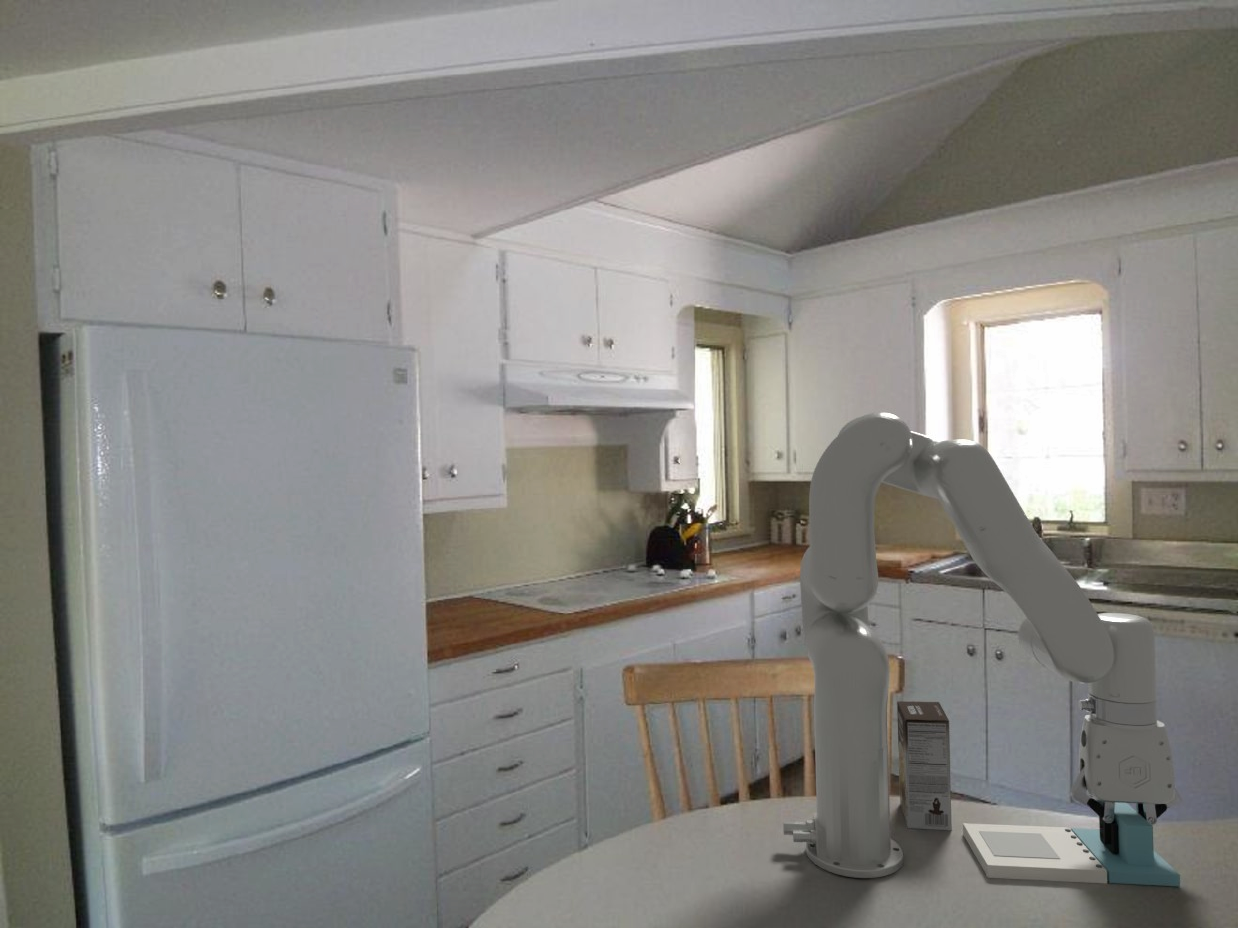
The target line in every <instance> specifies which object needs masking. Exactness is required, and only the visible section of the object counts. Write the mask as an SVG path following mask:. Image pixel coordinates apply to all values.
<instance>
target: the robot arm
mask: <svg viewBox="0 0 1238 928" xmlns="http://www.w3.org/2000/svg"><path fill="white" fill-rule="evenodd" d="M810 481H811V482H810V485H809V487H810V488H809V495H808V496H809V497H808V499H809V500H808V506H809V507H808V508H809V510H808V514H809V519H808V521H809V530H808V531H809V547H808V548H806V550H805V552H804V553H803V557H802V559H801V562H800V572H799V578H800V579H799V583H800V599H801V600H800V601H801V603H800V604H801V618H802V634H803V643H804V648H805V649H804V650H805V652H806V655H807V657H808V659H809V661H810V663H811V665H812V667H813V674H814V697H813V698H814V700H813V724H814V725H813V731H814V732H813V733H814V748H815V749H814V754H815V756H814V757H815V758H814V759H815V789H816V791H815V793H816V811H814V812H812V818H805V821H797V820H793V819H791V820H789V819H783V820H782V826H783V828H782V831H783V836H792V841H793V842H794V843H805V851H806V852H805V853H806V855H807V858H809V860H810V861H811V862H812V863H814V864H815V865H816V866H817V867H820V869H823V870H824V871H827V872H829V873H833V874H835V875H839V876H843V877H848V878H855V879H875V878H880V877H881V878H883V877H885V876H889V875H892V874H894V873H896V872H897V871H898V870H900V869H901V868H902V866H903V864H904V851H903V848H902V847H901V845H899V843H897V842H896V841H895V840H893V839H892V838H891V816H890V815H891V813H890V812H891V811H890V805H891V804H890V777H889V776H890V775H889V774H890V773H889V769H890V768H889V743H888V738H889V737H888V702H889V688H890V677H891V676H890V675H891V674H890V670H891V669H890V661H889V657H888V652H887V650H886V647H885V646H884V643H883V642H882V641H881V639H880V637H879V636H878V635H877V634H876V633H875V631H874V630H873V629H871V628H870V625H869V612H868V611H869V610H868V605H870V603H871V602H872V601H873V600H874V598H875V596H876V594H877V590H878V587H879V571H878V561H877V553H876V552H877V550H876V536H875V503H876V502H875V501H876V496H877V492H878V490H879V488H880V486H881V485H882V484H886V485H889V486H893V487H894V488H895V487H896V488H898V489H901V490H905V491H908V492H911V493H914V494H919V495H921V496H925V497H929V498H934V499H938V500H939V503H940V505H941V506H942V508H943V509H944V511H945V514H946V515H947V516H948V518H949V519H950V522H951V523H952V525H953V527H954V528H955V530H956V532H957V533H958V535H959V537H960V538H961V540H962V543H963V544H964V546H965V547H966V549H967V551H968V553H969V555H970V557H971V558H972V560H973V561H974V563H975V564H976V565H977V567H979V569H980V570H981V571H982V572H983V573H984V574H985V575H986V577H987V578H989V579H990V580H991V581H992V582H994V583H995V584H996V585H997V586H998V587H999V588H1001V590H1003V591H1004V592H1005V593H1006V594H1007V595H1008V596H1009V597H1010V598H1011V599H1012V601H1014V602H1015V604H1016V605H1017V606H1018V608H1019V609H1020V610H1021V611H1022V613H1023V614H1024V615H1025V617H1026V618H1025V619H1024V620H1023V621H1022V622H1021V624H1020V626H1019V629H1018V635H1017V637H1018V642H1019V644H1020V647H1021V649H1022V650H1023V652H1024V654H1026V655H1027V656H1028V657H1029V658H1030V659H1032V660H1033V661H1034V662H1036V663H1037V664H1039V665H1040V666H1043V667H1044V668H1046V669H1047V670H1050V671H1052V672H1053V673H1055V674H1056V675H1058V676H1060V677H1061V678H1063V679H1065V680H1067V681H1069V682H1073V683H1078V684H1088V692H1087V693H1086V694H1087V695H1086V698H1084V699H1079V700H1078V701H1077V707H1078V710H1079V711H1085V712H1087V713H1089V714H1087V715H1086V714H1085V716H1084V718H1083V722H1082V727H1081V732H1080V736H1079V737H1080V738H1079V747H1078V765H1077V767H1078V775H1077V777H1076V779H1075V781H1074V782H1073V785H1072V786H1071V788H1070V790H1069V796H1070V797H1072V799H1074V800H1075V801H1077V802H1079V803H1080V804H1083V806H1084V805H1085V806H1086V807H1089V808H1090V809H1091V810H1092V811H1093V812H1094V813H1095V814H1096V815H1097V816H1098V820H1099V821H1098V822H1099V830H1100V840H1101V842H1102V843H1103V844H1104V845H1105V846H1106V847H1107V848H1108V850H1109V851H1110V852H1111V853H1112V854H1118V853H1119V835H1118V825H1117V823H1116V822H1115V821H1114V810H1115V802H1117V803H1128V804H1135V810H1136V812H1138V813H1139V814H1140V815H1141V816H1142V817H1143V818H1144V819H1145V820H1146V821H1148V822H1149V823H1150V824H1151V825H1152V826H1153V827H1154V825H1156V824H1157V822H1158V819H1159V818H1160V817H1161V816H1162V814H1164V813H1165V812H1166V811H1167V810H1168V809H1171V808H1173V807H1175V806H1177V805H1180V804H1182V802H1183V798H1182V797H1181V795H1180V793H1179V792H1178V789H1177V788H1176V781H1175V780H1176V779H1175V778H1176V777H1175V771H1174V764H1173V763H1174V762H1173V754H1172V751H1171V746H1170V740H1169V736H1168V732H1167V728H1166V725H1165V723H1163V721H1160V720H1159V719H1158V709H1157V707H1158V705H1157V702H1158V701H1157V678H1156V677H1157V675H1156V673H1157V671H1156V639H1155V638H1156V637H1155V635H1156V634H1155V627H1154V625H1153V623H1152V622H1151V621H1150V620H1149V619H1148V618H1146V617H1144V616H1140V615H1136V614H1132V613H1131V614H1130V613H1123V612H1103V613H1101V612H1100V613H1097V611H1096V609H1095V607H1094V606H1093V604H1092V603H1091V601H1090V599H1089V598H1088V595H1086V593H1085V591H1084V590H1083V589H1082V587H1081V586H1080V584H1078V582H1077V580H1076V579H1074V577H1073V576H1072V575H1071V573H1070V572H1069V571H1068V570H1067V569H1066V567H1065V566H1064V565H1063V564H1062V563H1061V561H1060V560H1059V559H1058V558H1057V556H1056V555H1055V554H1054V552H1053V550H1051V549H1050V547H1048V545H1047V544H1046V543H1045V542H1044V540H1042V538H1041V537H1040V536H1039V534H1038V532H1036V530H1035V528H1034V527H1033V524H1032V523H1031V522H1030V520H1029V518H1028V516H1027V515H1026V513H1025V511H1024V509H1023V507H1022V506H1021V504H1020V503H1019V500H1018V499H1017V497H1016V496H1015V493H1014V492H1013V491H1012V489H1011V487H1010V485H1009V484H1008V482H1007V480H1006V478H1005V476H1004V474H1003V473H1002V472H1001V470H1000V468H999V466H998V465H997V463H996V461H995V459H994V458H993V457H992V455H991V454H990V453H989V451H988V450H987V449H986V448H985V447H984V446H982V445H981V444H980V443H979V442H976V441H973V440H969V439H959V438H957V439H947V440H946V439H940V438H937V437H932V436H929V435H925V434H922V433H919V432H916V431H911V429H910V427H909V426H908V424H907V423H906V422H905V421H904V420H903V419H902V418H900V417H899V416H898V415H895V414H892V413H889V412H880V411H879V412H871V413H868V414H865V415H862V416H859V417H856V418H854V419H852V420H850V421H848V422H847V423H846V424H845V425H844V426H842V428H841V429H840V430H839V432H838V433H837V435H836V436H835V438H833V440H832V441H831V442H830V443H829V445H828V446H827V447H826V448H825V450H824V451H823V453H822V454H821V456H820V457H819V459H818V462H817V464H816V466H815V468H814V470H813V473H812V477H811V480H810ZM1087 792H1088V793H1089V794H1087Z"/></svg>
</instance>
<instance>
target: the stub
mask: <svg viewBox="0 0 1238 928" xmlns="http://www.w3.org/2000/svg"><path fill="white" fill-rule="evenodd" d="M1114 821H1115V822H1116V823H1117V825H1118V835H1119V853H1118V854H1112V853H1111V852H1110V851H1109V850H1108V848H1107V847H1106V846H1105V845H1104V844H1103V843H1102V842H1101V840H1100V829H1094V828H1075V827H1073V828H1070V829H1071V831H1072V832H1073V833H1074V834H1075V835H1076V836H1077V837H1078V839H1079V840H1080V841H1081V842H1082V843H1083V844H1084V845H1085V846H1086V848H1087V849H1088V850H1089V851H1090V852H1091V853H1092V854H1093V856H1094V857H1095V858H1096V859H1097V860H1098V861H1099V862H1100V864H1101V865H1102V866H1103V867H1104V868H1105V869H1106V870H1107V882H1109V884H1124V885H1125V884H1126V885H1142V886H1144V885H1147V886H1163V887H1165V886H1166V887H1167V886H1168V887H1181V875H1180V874H1179V872H1177V870H1176V869H1174V868H1173V867H1172V866H1171V865H1170V864H1169V863H1168V862H1167V861H1166V860H1165V859H1164V858H1163V857H1162V856H1161V855H1159V853H1157V852H1156V850H1154V846H1155V845H1154V825H1153V826H1152V825H1151V824H1150V823H1149V822H1148V821H1146V820H1145V819H1144V818H1143V817H1142V816H1141V815H1140V814H1139V813H1138V812H1137V810H1136V809H1134V808H1133V807H1132V806H1131V805H1130V803H1117V802H1115V810H1114Z"/></svg>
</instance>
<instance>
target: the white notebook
mask: <svg viewBox="0 0 1238 928" xmlns="http://www.w3.org/2000/svg"><path fill="white" fill-rule="evenodd" d="M962 835H963V836H964V839H965V840H966V842H967V844H968V846H969V847H970V849H971V851H972V852H973V855H974V856H975V858H976V859H977V861H978V862H979V864H980V866H981V867H982V868H981V869H982V870H983V871H984V873H985V875H986V877H987V878H991V879H1007V880H1008V879H1010V880H1029V881H1030V880H1031V881H1048V882H1051V881H1052V882H1069V883H1070V882H1071V883H1072V882H1073V883H1088V884H1089V883H1090V884H1092V883H1093V884H1108V880H1107V870H1106V869H1105V868H1104V867H1103V866H1102V865H1101V864H1100V862H1099V861H1098V860H1097V859H1096V858H1095V857H1094V856H1093V854H1092V853H1091V852H1090V851H1089V850H1088V849H1087V848H1086V846H1085V845H1084V844H1083V843H1082V842H1081V841H1080V840H1079V839H1078V837H1077V836H1076V835H1075V834H1074V833H1073V832H1072V831H1071V828H1070V827H1064V826H1063V827H1062V826H1039V825H1035V826H1034V825H1016V824H1015V825H1012V824H1011V825H1010V824H990V823H989V824H988V823H987V824H986V823H967V822H966V823H965V822H963V823H962Z"/></svg>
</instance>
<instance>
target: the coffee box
mask: <svg viewBox="0 0 1238 928" xmlns="http://www.w3.org/2000/svg"><path fill="white" fill-rule="evenodd" d="M896 705H897V706H896V707H897V708H896V709H897V714H896V715H897V743H898V746H897V747H898V777H899V780H898V781H899V802H900V806H901V810H902V812H903V816H904V820H905V823H906V826H907V829H917V830H933V831H934V830H935V831H952V830H953V829H952V828H953V826H952V795H951V794H952V790H951V788H952V787H951V748H950V747H951V745H950V744H951V743H950V739H951V738H950V736H951V735H950V720H949V718H948V716H947V715H946V712H945V710H944V708H943V707H942V705H941V703H940V702H939V701H913V700H912V701H907V700H905V701H902V700H901V701H897V702H896Z"/></svg>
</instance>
